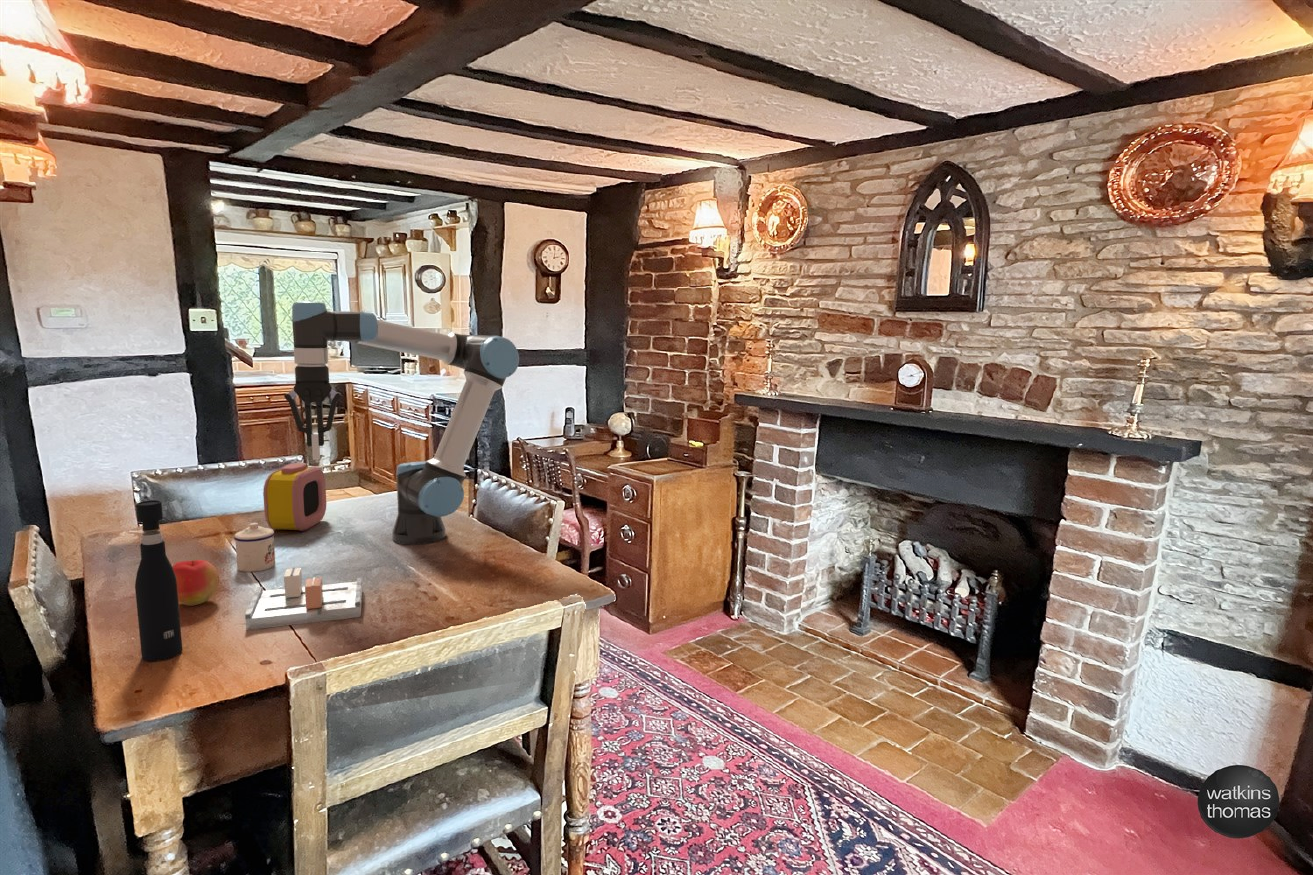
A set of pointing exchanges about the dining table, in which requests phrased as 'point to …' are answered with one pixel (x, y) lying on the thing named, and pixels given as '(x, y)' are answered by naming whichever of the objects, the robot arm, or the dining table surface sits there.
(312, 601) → the fader
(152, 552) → the black water bottle
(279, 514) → the alarm clock
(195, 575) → the apple
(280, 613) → the console
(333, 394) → the robot arm
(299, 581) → the fader
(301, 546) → the dining table surface
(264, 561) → the teacup with lid
